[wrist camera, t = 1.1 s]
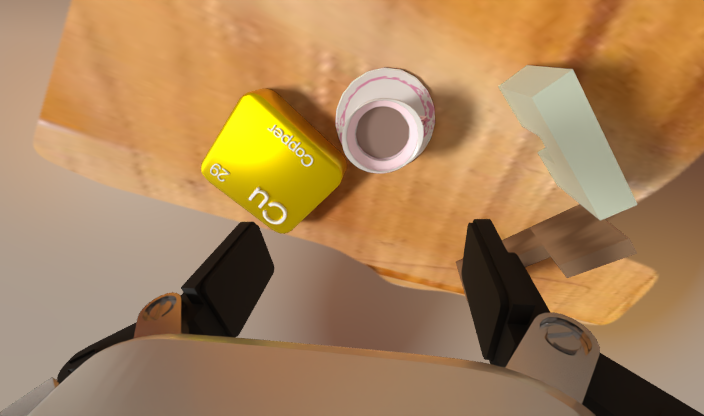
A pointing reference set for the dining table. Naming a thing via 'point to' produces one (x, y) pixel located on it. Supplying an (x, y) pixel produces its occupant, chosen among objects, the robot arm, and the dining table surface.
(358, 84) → the teacup
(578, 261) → the walnut upright plate
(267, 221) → the element tile
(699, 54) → the dining table surface
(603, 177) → the sage cross-piece
